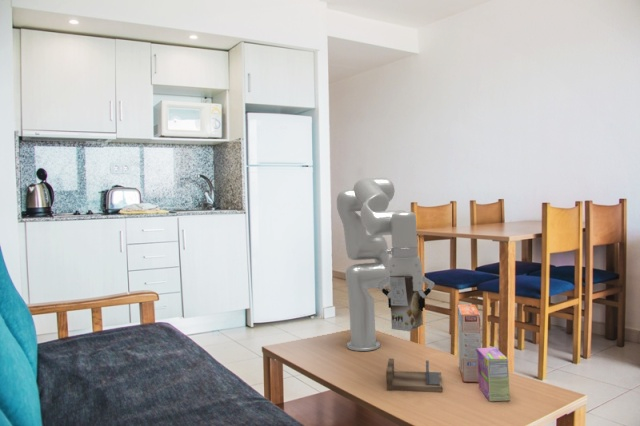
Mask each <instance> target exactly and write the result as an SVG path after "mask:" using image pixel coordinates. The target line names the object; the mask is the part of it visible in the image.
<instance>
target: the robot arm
mask: <svg viewBox="0 0 640 426" xmlns="http://www.w3.org/2000/svg"><path fill="white" fill-rule="evenodd" d="M394 196H395V185H394V183H393V181H392V180H391V179H389V178H387V177H365V178H362V179H359V180H357V181H356V183H354V186H353V188H351V189H345V190H342V191H340V192H339V193H338V194H337V196H336V208H337V209H336V210H337V213H338V216H339V218H340V220H341V222H342V225H343V227H342V228H343V232H344V241H345V242H344V243H345V249H346V250H345V251H346V254H347V258H348V259H349V260H351V261H366V260H369V261H370V260H373V261H374V262H365V263H355V264H351V265H349V266H348V267H347V268H346V269H345V276H344V277H345V281H346V286H347V293H348V307H349V328H350V341H347V343H346V347H347V349H348V350H350V351H355V352H369V351H375V350H377V349H379V348H381V343H380V341H378V340H376V339H377V338H376V317H375V316H376V314H375V299H374V298H373V295H371V294H370V292H369V291H368V289H374V288H375V289H377V288H379V289H380V290H381V292H382V294H384V295H385V297H386V298H387V299H388V303H387V305H388V308H389V309H391V292H390V276H413V291H418V292H419V294H420V295H421V297H420V310H421V311H422V312H424V309H425V308H426V297H427V296H428V295H429V294H430V293H431V292H432V289H433V288H434V287H435V282H434V281H432V280H430V279H429V278H427V277H426V276H424V275H423V274H424V273H423V265H422V259H421V257H420V256H418V234H417V232H418V231H417V228H418V227H417V216H416V213H414V212H413V211H406V210H387V209H388V208H389V204H390V202H391V201H392V199H393V198H394ZM386 210H387V211H386ZM358 212H360V215H359V214H358ZM367 232H368V233H369V234H368V233H367ZM390 235H391V248H390V249H389V247H388V242H387V240H386V238H385V237H384V236H390ZM390 255H391V256H392V257H391V256H390ZM424 283H425V284H427V285H428V287H427V288H426V289H425V290H424V289H423V288H424ZM386 287H388V289H389V290H388V289H387V288H386Z"/></svg>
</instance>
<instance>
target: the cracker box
mask: <svg viewBox="0 0 640 426" xmlns="http://www.w3.org/2000/svg"><path fill="white" fill-rule="evenodd" d="M457 319H458V320H457V321H458V325H457V326H458V329H457V330H458V359H459V360H458V361H459V362H458V365H459V371H460V375H461V376H460V377H461V380H462V382H463V383H464V382H465V383H479V376H478V358H477V348H482V344H481V343H482V342H481V341H482V338H481V314H480V312H479V310H478V308H477V306H476V304H458V305H457Z"/></svg>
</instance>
